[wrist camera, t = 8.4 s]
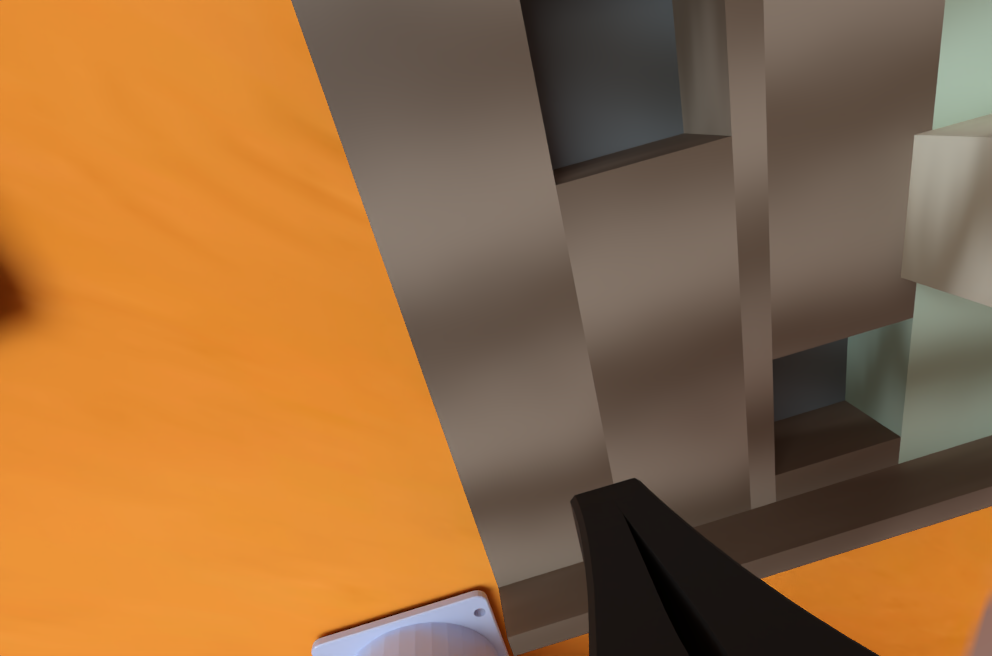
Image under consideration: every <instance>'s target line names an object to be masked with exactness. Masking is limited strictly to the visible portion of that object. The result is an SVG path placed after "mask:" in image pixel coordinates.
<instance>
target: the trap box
mask: <svg viewBox="0 0 992 656" xmlns="http://www.w3.org/2000/svg"><path fill="white" fill-rule="evenodd" d="M291 1H292V4H293V7H294V9H295V12H296V15H297V18H298V21H299V24H300V26H301V29H302V32H303V35H304V38H305V41H306V43H307V46H308V49H309V52H310V55H311V58H312V60H313V63H314V66H315V69H316V72H317V75H318V77H319V80H320V83H321V86H322V89H323V92H324V94H325V97H326V100H327V103H328V106H329V109H330V111H331V114H332V117H333V120H334V123H335V126H336V128H337V131H338V134H339V137H340V140H341V143H342V145H343V148H344V151H345V154H346V157H347V160H348V162H349V165H350V168H351V171H352V174H353V177H354V179H355V182H356V185H357V188H358V191H359V194H360V196H361V199H362V202H363V205H364V208H365V211H366V213H367V216H368V219H369V222H370V225H371V228H372V230H373V233H374V236H375V239H376V242H377V245H378V247H379V250H380V253H381V256H382V259H383V262H384V264H385V267H386V270H387V273H388V276H389V279H390V281H391V284H392V287H393V290H394V293H395V296H396V298H397V301H398V304H399V307H400V310H401V313H402V315H403V318H404V321H405V324H406V327H407V330H408V332H409V335H410V338H411V341H412V344H413V347H414V349H415V352H416V355H417V358H418V361H419V364H420V366H421V369H422V372H423V375H424V378H425V381H426V383H427V386H428V389H429V392H430V395H431V398H432V400H433V403H434V406H435V409H436V412H437V415H438V417H439V420H440V423H441V426H442V429H443V432H444V434H445V437H446V440H447V443H448V446H449V449H450V451H451V454H452V457H453V460H454V463H455V466H456V468H457V471H458V474H459V477H460V480H461V483H462V485H463V488H464V491H465V494H466V497H467V500H468V503H469V505H470V508H471V511H472V514H473V517H474V520H475V522H476V525H477V528H478V531H479V534H480V537H481V539H482V542H483V545H484V548H485V551H486V554H487V556H488V559H489V562H490V565H491V568H492V571H493V573H494V576H495V579H496V582H497V585H498V588H499V593H500V599H501V605H502V610H503V616H504V622H505V627H506V633H507V638H508V641H509V644H510V647H511V649H512V652H513V655H514V656H517V655H520V654H523V653H526V652H529V651H533V650H536V649H539V648H542V647H545V646H548V645H552V644H555V643H558V642H561V641H564V640H568V639H571V638H574V637H577V636H580V635H583V634H587V633H589V620H588V594H587V582H586V572H585V566H584V562H583V557H582V553H581V548H580V544H579V539H578V535H577V530H576V526H575V521H574V517H573V512H572V508H571V503H570V501H571V499H572V498H573V497H574V495H577V494H580V493H584V492H587V491H591V490H594V489H597V488H601V487H604V486H608V485H611V484H615V483H618V482H621V481H625V480H628V479H632V478H636V479H638V480H640V481H641V482H642V483H643V484H644V485H645V486H646V487H647V488H648V489H650V490H651V491H652V492H653V493H654V494H655V495H656V496H657V497H658V498H659V499H660V500H662V501H663V502H664V503H665V504H666V505H667V506H668V507H669V508H671V509H672V510H673V511H674V512H675V513H676V514H678V515H679V516H680V517H681V518H682V519H683V520H685V521H686V522H687V523H688V524H689V525H690V526H692V527H693V528H694V529H695V530H697V531H698V532H699V533H700V534H701V535H703V536H704V537H705V538H707V539H708V540H709V541H710V542H712V543H713V544H714V545H715V546H717V547H718V548H719V549H721V550H722V551H723V552H724V553H726V554H727V555H728V556H730V557H731V558H732V559H733V560H735V561H736V562H737V563H739V564H740V565H741V566H743V567H744V568H745V569H747V570H748V571H750V572H751V573H752V574H754V575H755V576H756V577H758V578H759V579H761V578H765V577H768V576H771V575H774V574H777V573H780V572H784V571H787V570H790V569H793V568H796V567H800V566H803V565H806V564H809V563H812V562H815V561H819V560H822V559H825V558H828V557H831V556H834V555H838V554H841V553H844V552H847V551H850V550H854V549H857V548H860V547H863V546H866V545H869V544H873V543H876V542H879V541H882V540H885V539H889V538H892V537H895V536H898V535H901V534H904V533H908V532H911V531H914V530H917V529H920V528H923V527H927V526H930V525H933V524H936V523H939V522H943V521H946V520H949V519H952V518H955V517H958V516H962V515H965V514H968V513H971V512H974V511H978V510H981V509H984V508H987V507H990V506H992V307H989V306H986V305H983V304H980V303H977V302H974V301H971V300H968V299H965V298H962V297H959V296H956V295H953V294H950V293H947V292H943V291H940V290H937V289H934V288H931V287H928V286H925V285H922V284H919V283H916V282H913V281H910V280H907V279H904V278H901V269H902V259H903V248H904V238H905V228H906V217H907V207H908V197H909V186H910V176H911V165H912V155H913V145H914V135H916V134H920V133H923V132H927V131H931V130H934V129H938V128H941V127H945V126H949V125H952V124H956V123H960V122H963V121H967V120H971V119H974V118H978V117H982V116H985V115H989V114H992V0H291Z"/></svg>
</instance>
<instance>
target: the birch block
mask: <svg viewBox="0 0 992 656" xmlns="http://www.w3.org/2000/svg"><path fill="white" fill-rule="evenodd" d="M901 278H904V279H907V280H910V281H913V282H916V283H919V284H922V285H925V286H928V287H931V288H934V289H937V290H940V291H943V292H947V293H950V294H953V295H956V296H959V297H962V298H965V299H968V300H971V301H974V302H977V303H980V304H983V305H986V306H989V307H992V114H989V115H985V116H982V117H978V118H974V119H971V120H967V121H963V122H960V123H956V124H952V125H949V126H945V127H941V128H938V129H934V130H931V131H927V132H923V133H920V134H916V135H914V145H913V155H912V165H911V176H910V186H909V197H908V207H907V217H906V228H905V238H904V248H903V259H902V269H901Z"/></svg>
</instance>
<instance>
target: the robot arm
mask: <svg viewBox="0 0 992 656" xmlns="http://www.w3.org/2000/svg"><path fill="white" fill-rule="evenodd" d="M570 503H571V508H572V512H573V517H574V521H575V526H576V530H577V535H578V539H579V544H580V548H581V553H582V557H583V562H584V566H585V572H586V582H587V594H588V620H589V656H879V655H877V654H876V653H874V652H872V651H871V650H869V649H867V648H866V647H864V646H862V645H861V644H859V643H857V642H855V641H854V640H852V639H850V638H849V637H847V636H845V635H844V634H842V633H841V632H839V631H837V630H836V629H834V628H833V627H831V626H829V625H828V624H826V623H825V622H823V621H821V620H820V619H818V618H817V617H815V616H814V615H812V614H810V613H809V612H807V611H806V610H804V609H803V608H801V607H800V606H798V605H797V604H795V603H794V602H792V601H791V600H789V599H788V598H786V597H785V596H783V595H782V594H781V593H779V592H778V591H776V590H775V589H773V588H772V587H771V586H769V585H768V584H766V583H765V582H764V581H762V580H761V579H759V578H758V577H756V576H755V575H754V574H752V573H751V572H750V571H748V570H747V569H745V568H744V567H743V566H741V565H740V564H739V563H737V562H736V561H735V560H733V559H732V558H731V557H730V556H728V555H727V554H726V553H724V552H723V551H722V550H721V549H719V548H718V547H717V546H715V545H714V544H713V543H712V542H710V541H709V540H708V539H707V538H705V537H704V536H703V535H701V534H700V533H699V532H698V531H697V530H695V529H694V528H693V527H692V526H690V525H689V524H688V523H687V522H686V521H685V520H683V519H682V518H681V517H680V516H679V515H678V514H676V513H675V512H674V511H673V510H672V509H671V508H669V507H668V506H667V505H666V504H665V503H664V502H663V501H662V500H660V499H659V498H658V497H657V496H656V495H655V494H654V493H653V492H652V491H651V490H650V489H648V488H647V487H646V486H645V485H644V484H643V483H642V482H641V481H640V480H638V479H636V478H632V479H628V480H625V481H621V482H618V483H615V484H611V485H608V486H604V487H601V488H597V489H594V490H591V491H587V492H584V493H580V494H577V495H574V497H573V498H572V499H571V501H570ZM480 608H481V609H480ZM311 653H312V656H509V654H508V651H507V649H506V646H505V643H504V641H503V638H502V635H501V633H500V630H499V627H498V624H497V622H496V619H495V616H494V614H493V611H492V608H491V605H490V603H489V600H488V597H487V595H486V594H485V592H483V591H480V590H475V591H471V592H468V593H464V594H461V595H458V596H455V597H451V598H448V599H445V600H442V601H438V602H435V603H432V604H429V605H425V606H422V607H419V608H416V609H413V610H409V611H406V612H403V613H400V614H396V615H393V616H390V617H387V618H383V619H380V620H377V621H374V622H370V623H367V624H364V625H361V626H357V627H354V628H351V629H348V630H345V631H341V632H338V633H335V634H332V635H328V636H325V637H322V638H319V639H317V640H316V641H315V642H314V643H313V647H312V652H311Z"/></svg>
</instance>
